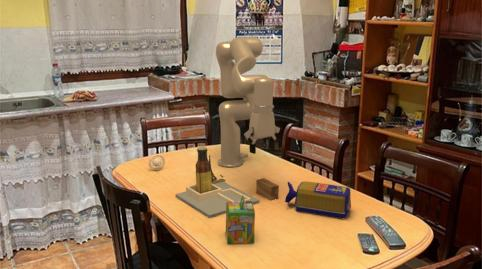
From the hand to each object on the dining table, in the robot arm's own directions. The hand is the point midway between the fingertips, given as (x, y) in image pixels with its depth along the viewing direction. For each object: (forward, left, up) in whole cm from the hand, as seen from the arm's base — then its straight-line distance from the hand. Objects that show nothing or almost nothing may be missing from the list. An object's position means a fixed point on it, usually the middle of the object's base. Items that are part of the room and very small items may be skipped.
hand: (262, 150), depth 187 cm
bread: (-9, +23, -20) cm, 32 cm away
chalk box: (+29, +23, -20) cm, 42 cm away
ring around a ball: (+20, -53, -20) cm, 60 cm away
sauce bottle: (+20, -13, -19) cm, 30 cm away
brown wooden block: (-2, +1, -20) cm, 20 cm away
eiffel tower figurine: (+7, -27, -20) cm, 35 cm away
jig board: (+17, -8, -20) cm, 27 cm away
